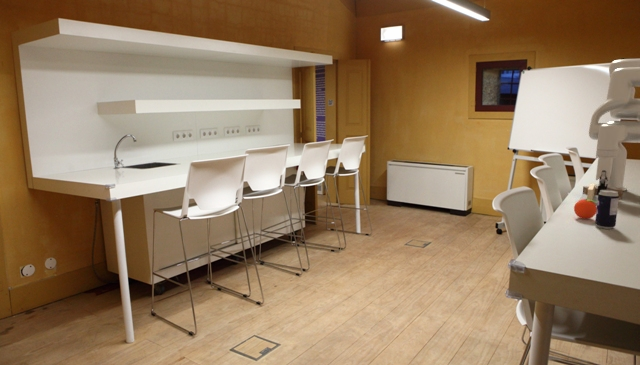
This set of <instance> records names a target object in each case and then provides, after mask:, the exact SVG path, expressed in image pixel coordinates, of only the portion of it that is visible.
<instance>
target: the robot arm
mask: <svg viewBox="0 0 640 365" xmlns="http://www.w3.org/2000/svg"><path fill="white" fill-rule="evenodd" d="M608 70H609V71H608V74H609V83H608V84H609V85H608V89H607V94H606V100H605V101H604V102H603V103H602V104H600V105H599V106H598V107H597V108H596V109H595V111H594V112H593V114H592V116H591V119H590V124H589V131H588V137H589V138H590V139H591V140H594V141H597V142H596V153H595V157H597V158H598V160H597V165H596V174H595V180H596V181H599V182H598V183H597V184H596V183H595V187H598V191H597V195H598V194H599V193H600V190H607V187H608V188H620V189H622V190H623V192H624V191H626V190H627V189H628V187H627V186H625V185H624V183H625V182H624V180H625V172H626V164H627V157H628V156H627V155H628V151H627V149H626V147H625V146H624V145H623V144H622V143H636V144H637V143H638V144H640V98H635V94H636V88H640V58H624V59H623V58H622V59H616V60H613V61H612V62H611V63H610V64H609V68H608ZM607 113H609V114H610V117H611V118H612V119H615V120H611V121H608V122H599V121H600V119H601V117H603V116H604V115H605V114H607ZM629 120H631V121H629Z"/></svg>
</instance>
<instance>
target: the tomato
mask: <svg viewBox="0 0 640 365" xmlns="http://www.w3.org/2000/svg"><path fill="white" fill-rule="evenodd" d="M579 200H580V199H579ZM579 200H578V201H577V202H575V205H574V206H573V210H574V214H575V215H576V216H577V217H578V218H580V219H583V220H589V219H591V218H593V217H594V216H596V211H597V206H596V205H595V203H594V202H595V201H593V200H588V199H582V200H580V201H579ZM596 203H597V202H596Z"/></svg>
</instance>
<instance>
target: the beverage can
mask: <svg viewBox="0 0 640 365" xmlns="http://www.w3.org/2000/svg"><path fill="white" fill-rule="evenodd" d="M619 199H620V198H619V195H618V192H617V191H613V190H600V193H599V194H598V202H597V206H596V207H597V211H596V214H595V222H594V224H595V225H596V226H597V227H598V228H600V229H604V230H610V229H611V230H612V229H613V228H615V227H616V224H617V216H618V207H619V206H618V205H619Z"/></svg>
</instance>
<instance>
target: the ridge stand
mask: <svg viewBox="0 0 640 365" xmlns="http://www.w3.org/2000/svg"><path fill="white" fill-rule="evenodd" d="M595 185H596V183H590V184H589V186H588V187H589V188H588V194H583V193H582V194H581V196H580V199H579V200H578V201H580V200H582V199H588V200H593V201H595V202H594V203H595V205H596V207H597V203H596V202H598V195H594V191H595Z"/></svg>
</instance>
